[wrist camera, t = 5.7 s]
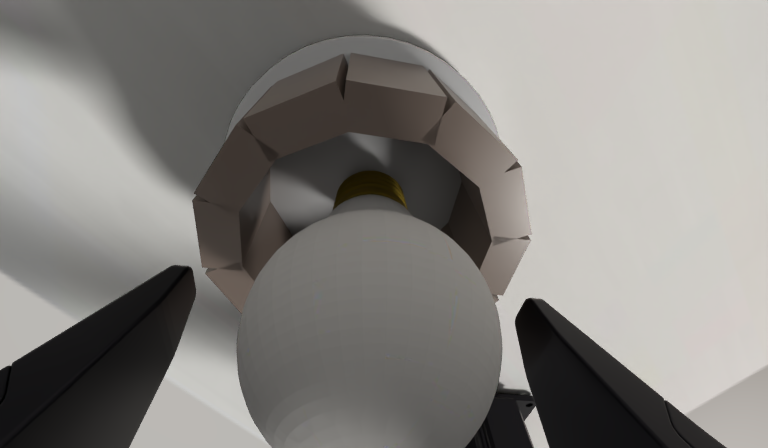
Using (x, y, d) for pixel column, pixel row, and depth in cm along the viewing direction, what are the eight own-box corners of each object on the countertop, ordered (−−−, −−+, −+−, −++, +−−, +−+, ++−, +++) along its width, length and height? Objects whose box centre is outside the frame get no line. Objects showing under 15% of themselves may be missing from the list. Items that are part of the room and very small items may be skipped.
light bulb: (271, 210, 14) (141, 510, 6) (343, 84, 12) (283, 317, 4) (389, 267, 16) (410, 552, 8) (473, 170, 14) (630, 448, 6)
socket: (453, 287, 19) (478, 369, 15) (237, 267, 17) (199, 352, 13) (539, 66, 13) (621, 103, 9) (217, 4, 11) (136, 15, 7)
